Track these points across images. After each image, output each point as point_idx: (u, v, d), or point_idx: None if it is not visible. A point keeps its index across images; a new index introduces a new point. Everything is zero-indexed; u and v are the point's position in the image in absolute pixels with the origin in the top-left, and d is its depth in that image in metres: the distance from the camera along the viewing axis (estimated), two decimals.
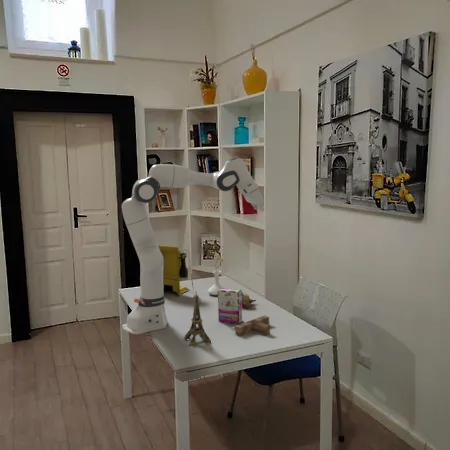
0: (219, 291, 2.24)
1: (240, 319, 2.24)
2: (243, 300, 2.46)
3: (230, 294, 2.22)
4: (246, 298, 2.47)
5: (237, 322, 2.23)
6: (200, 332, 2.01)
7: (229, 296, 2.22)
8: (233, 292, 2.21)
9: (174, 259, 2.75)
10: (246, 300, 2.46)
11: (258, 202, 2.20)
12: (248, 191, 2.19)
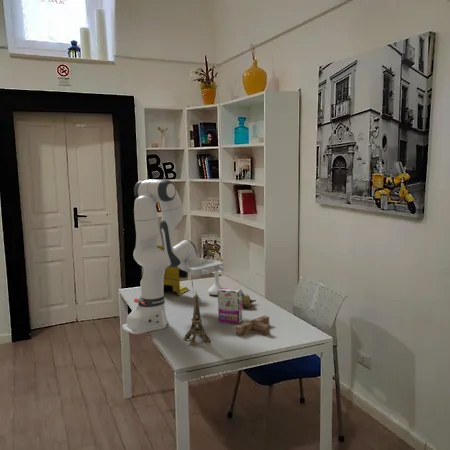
0: (219, 291, 2.24)
1: (240, 319, 2.24)
2: (244, 300, 2.46)
3: (230, 294, 2.22)
4: (247, 298, 2.46)
5: (237, 322, 2.23)
6: (200, 332, 2.01)
7: (229, 296, 2.22)
8: (233, 292, 2.21)
9: None
10: (247, 300, 2.46)
11: None
12: None
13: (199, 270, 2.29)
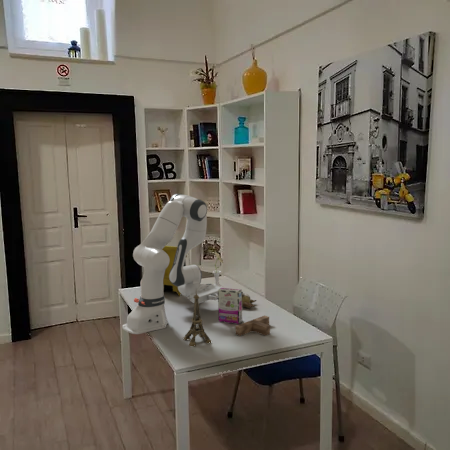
0: (219, 291, 2.24)
1: (240, 319, 2.24)
2: (244, 300, 2.45)
3: (230, 294, 2.22)
4: (247, 298, 2.46)
5: (237, 322, 2.23)
6: (200, 332, 2.01)
7: (229, 296, 2.22)
8: (233, 292, 2.21)
9: None
10: (247, 300, 2.46)
11: None
12: None
13: (201, 297, 2.31)
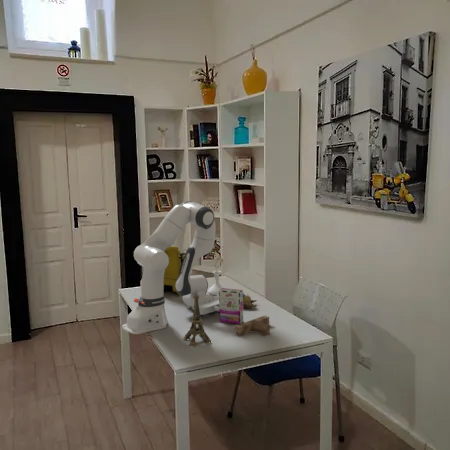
0: (220, 291, 2.23)
1: (241, 319, 2.23)
2: (245, 301, 2.45)
3: (231, 294, 2.21)
4: (248, 299, 2.46)
5: (238, 322, 2.22)
6: (200, 332, 2.01)
7: (231, 296, 2.21)
8: (234, 292, 2.21)
9: (174, 259, 2.75)
10: (248, 301, 2.45)
11: None
12: None
13: (207, 309, 2.28)
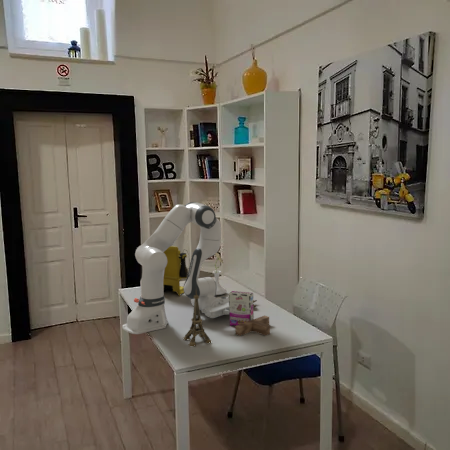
0: (230, 294, 2.18)
1: None
2: None
3: (241, 297, 2.16)
4: None
5: None
6: (200, 332, 2.01)
7: (241, 299, 2.16)
8: (245, 295, 2.15)
9: (174, 259, 2.75)
10: None
11: None
12: None
13: (216, 312, 2.23)
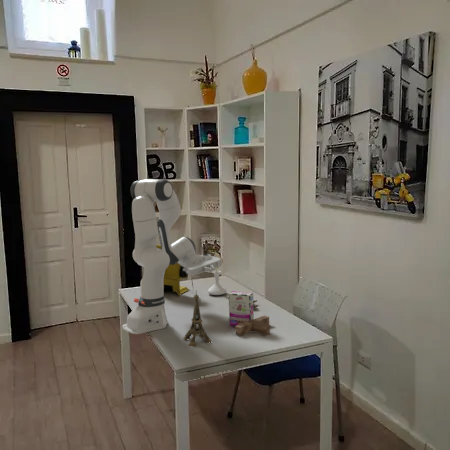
0: (230, 294, 2.18)
1: None
2: None
3: (241, 297, 2.16)
4: None
5: None
6: (200, 332, 2.01)
7: (241, 299, 2.16)
8: (245, 295, 2.15)
9: None
10: None
11: None
12: None
13: (196, 270, 2.30)
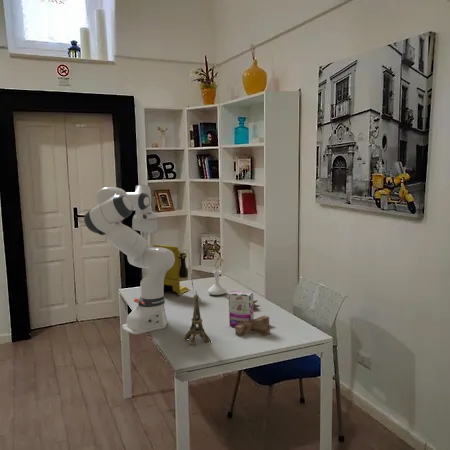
0: (230, 294, 2.18)
1: None
2: None
3: (241, 297, 2.16)
4: None
5: None
6: (200, 332, 2.01)
7: (241, 299, 2.16)
8: (245, 295, 2.15)
9: None
10: None
11: (153, 230, 2.42)
12: (148, 217, 2.41)
13: None
